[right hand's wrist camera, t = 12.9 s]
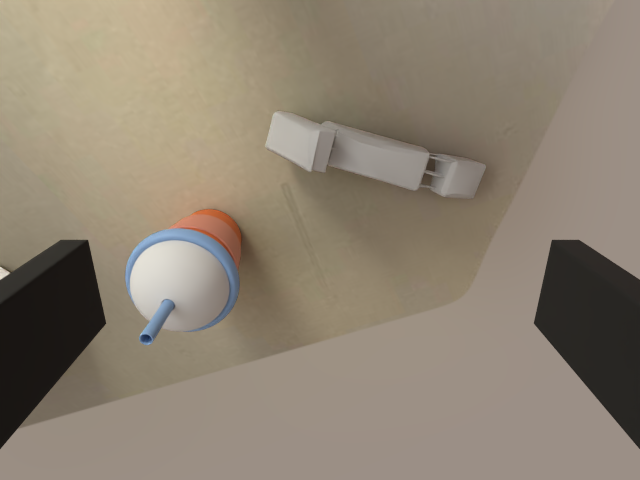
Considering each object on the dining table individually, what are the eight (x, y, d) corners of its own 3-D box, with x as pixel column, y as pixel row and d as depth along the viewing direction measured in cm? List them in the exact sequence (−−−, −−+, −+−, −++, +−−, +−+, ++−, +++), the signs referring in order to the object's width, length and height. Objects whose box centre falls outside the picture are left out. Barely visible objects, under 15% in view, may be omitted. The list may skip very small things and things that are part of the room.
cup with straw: (260, 274, 46) (225, 393, 29) (175, 278, 46) (93, 398, 29) (251, 192, 42) (206, 272, 26) (160, 196, 42) (56, 278, 26)
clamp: (264, 146, 40) (262, 163, 34) (273, 106, 39) (272, 116, 33) (457, 191, 44) (487, 214, 38) (471, 155, 42) (504, 173, 36)
